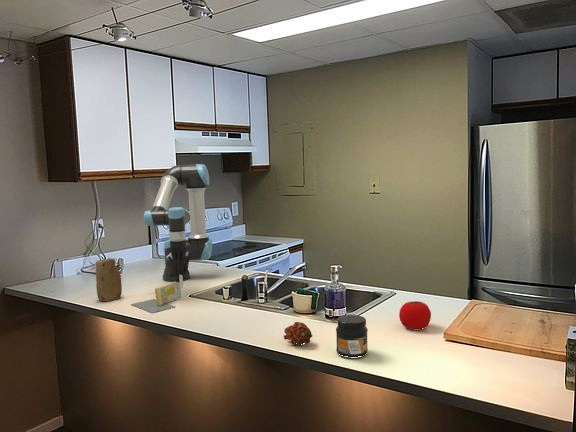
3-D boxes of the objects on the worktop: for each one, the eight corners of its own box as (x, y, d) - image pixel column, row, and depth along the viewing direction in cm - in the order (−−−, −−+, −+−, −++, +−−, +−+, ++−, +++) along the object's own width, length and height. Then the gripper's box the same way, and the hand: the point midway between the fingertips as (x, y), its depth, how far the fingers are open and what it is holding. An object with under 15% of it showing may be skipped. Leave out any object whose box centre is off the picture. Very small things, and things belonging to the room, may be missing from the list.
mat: (154, 299, 238) (154, 298, 238) (175, 307, 224) (175, 306, 224) (130, 304, 230) (130, 304, 230) (152, 313, 216) (151, 312, 216)
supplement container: (356, 362, 158) (355, 326, 156) (330, 354, 165) (329, 319, 163) (373, 352, 165) (373, 317, 164) (348, 345, 172) (347, 312, 171)
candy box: (178, 297, 241) (177, 280, 240) (181, 297, 240) (180, 280, 239) (156, 305, 226) (154, 287, 226) (159, 305, 225) (158, 288, 225)
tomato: (412, 335, 181) (412, 307, 180) (393, 325, 191) (393, 299, 190) (437, 330, 185) (438, 303, 184) (418, 321, 196) (418, 295, 195)
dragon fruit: (310, 353, 170) (286, 349, 179) (321, 333, 175) (297, 331, 184) (298, 337, 167) (274, 334, 175) (309, 318, 171) (285, 316, 180)
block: (101, 303, 234) (98, 262, 232) (96, 300, 240) (93, 259, 238) (123, 298, 241) (121, 258, 239) (118, 295, 247) (115, 256, 245)
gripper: (169, 242, 227) (172, 292, 229) (193, 238, 236) (196, 286, 238) (161, 240, 232) (164, 289, 235) (185, 237, 241) (187, 284, 244)
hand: (180, 288), depth 236 cm, fingers closed
